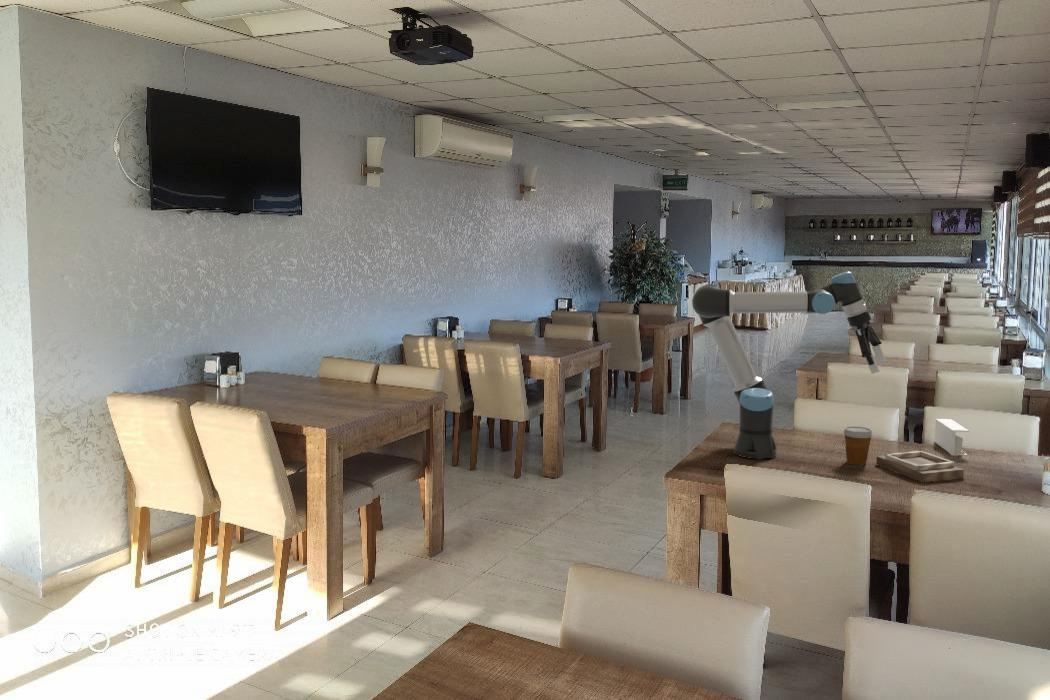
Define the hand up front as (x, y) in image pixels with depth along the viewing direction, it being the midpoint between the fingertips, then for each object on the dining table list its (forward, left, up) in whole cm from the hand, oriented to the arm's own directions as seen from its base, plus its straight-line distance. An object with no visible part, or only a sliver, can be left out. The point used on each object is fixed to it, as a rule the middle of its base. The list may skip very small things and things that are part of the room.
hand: (879, 367), depth 298 cm
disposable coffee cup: (-16, -10, -32) cm, 37 cm away
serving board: (-3, -25, -31) cm, 40 cm away
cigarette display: (+30, -4, -32) cm, 44 cm away
